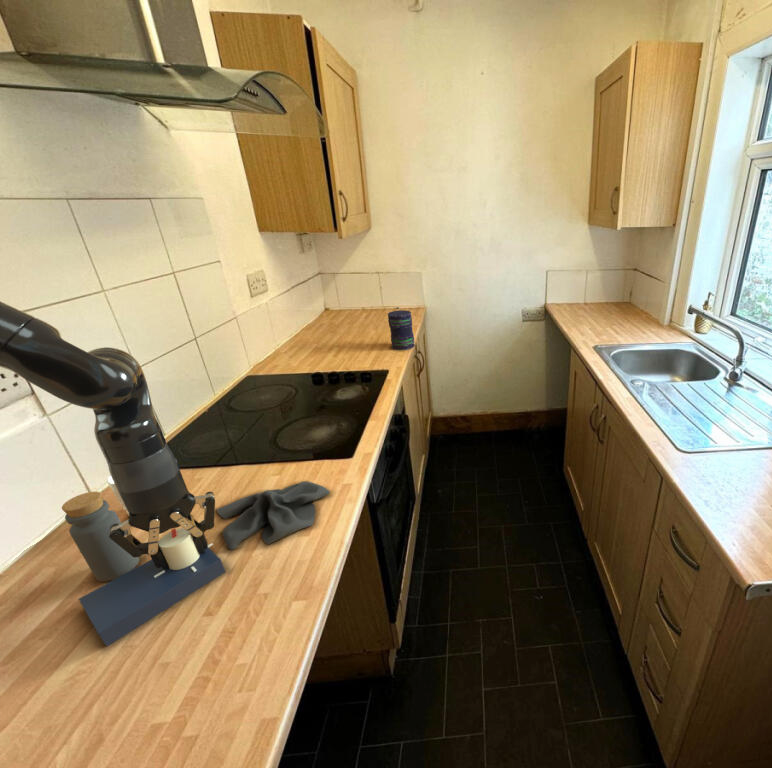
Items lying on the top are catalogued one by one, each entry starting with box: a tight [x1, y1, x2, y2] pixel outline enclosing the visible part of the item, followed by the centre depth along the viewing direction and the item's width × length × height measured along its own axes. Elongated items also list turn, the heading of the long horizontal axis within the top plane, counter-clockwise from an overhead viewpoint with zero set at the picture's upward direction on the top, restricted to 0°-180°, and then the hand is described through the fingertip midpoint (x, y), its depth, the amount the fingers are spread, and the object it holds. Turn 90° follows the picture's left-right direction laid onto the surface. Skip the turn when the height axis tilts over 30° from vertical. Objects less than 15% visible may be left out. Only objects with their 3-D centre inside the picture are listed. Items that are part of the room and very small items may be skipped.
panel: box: [78, 542, 226, 647], centre depth 69 cm, size 17×10×3 cm, turn 145°
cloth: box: [216, 480, 331, 551], centre depth 84 cm, size 22×19×6 cm
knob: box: [158, 527, 200, 570], centre depth 70 cm, size 4×4×5 cm
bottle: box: [61, 491, 140, 583], centre depth 70 cm, size 6×6×15 cm
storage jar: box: [387, 306, 415, 351], centre depth 179 cm, size 10×10×18 cm
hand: (184, 557), depth 71 cm, fingers closed on knob, 4 cm apart
